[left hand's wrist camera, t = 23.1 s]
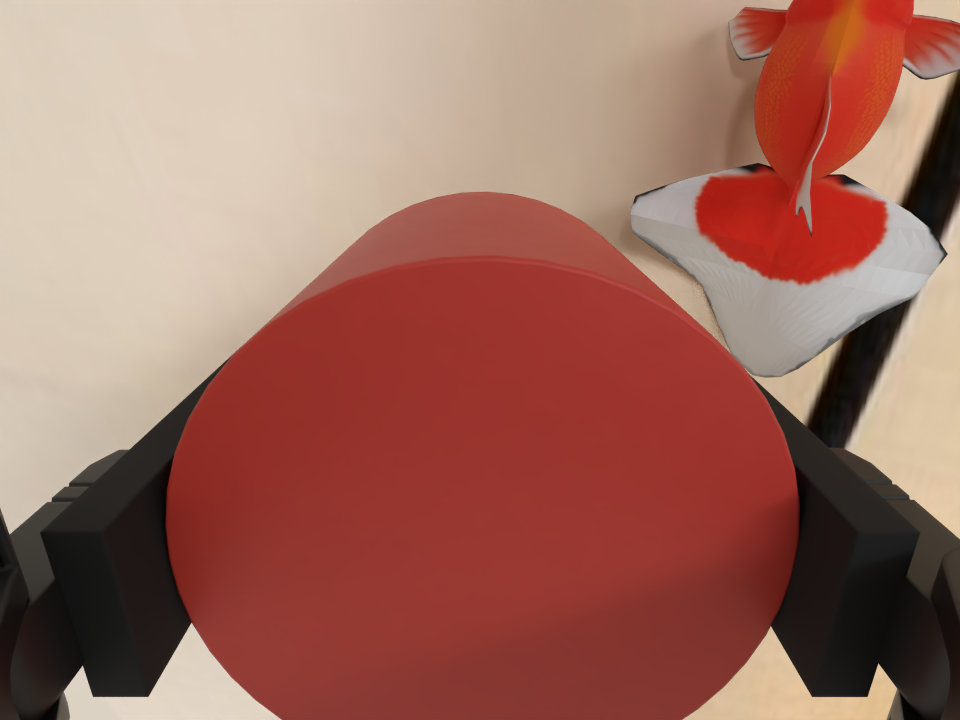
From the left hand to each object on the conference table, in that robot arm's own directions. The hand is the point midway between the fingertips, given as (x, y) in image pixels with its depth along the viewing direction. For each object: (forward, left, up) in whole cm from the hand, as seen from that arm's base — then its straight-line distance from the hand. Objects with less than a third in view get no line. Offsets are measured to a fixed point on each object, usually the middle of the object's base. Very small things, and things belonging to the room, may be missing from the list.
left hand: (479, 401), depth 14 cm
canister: (0, 0, -2) cm, 2 cm away
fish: (+5, +11, -14) cm, 18 cm away
